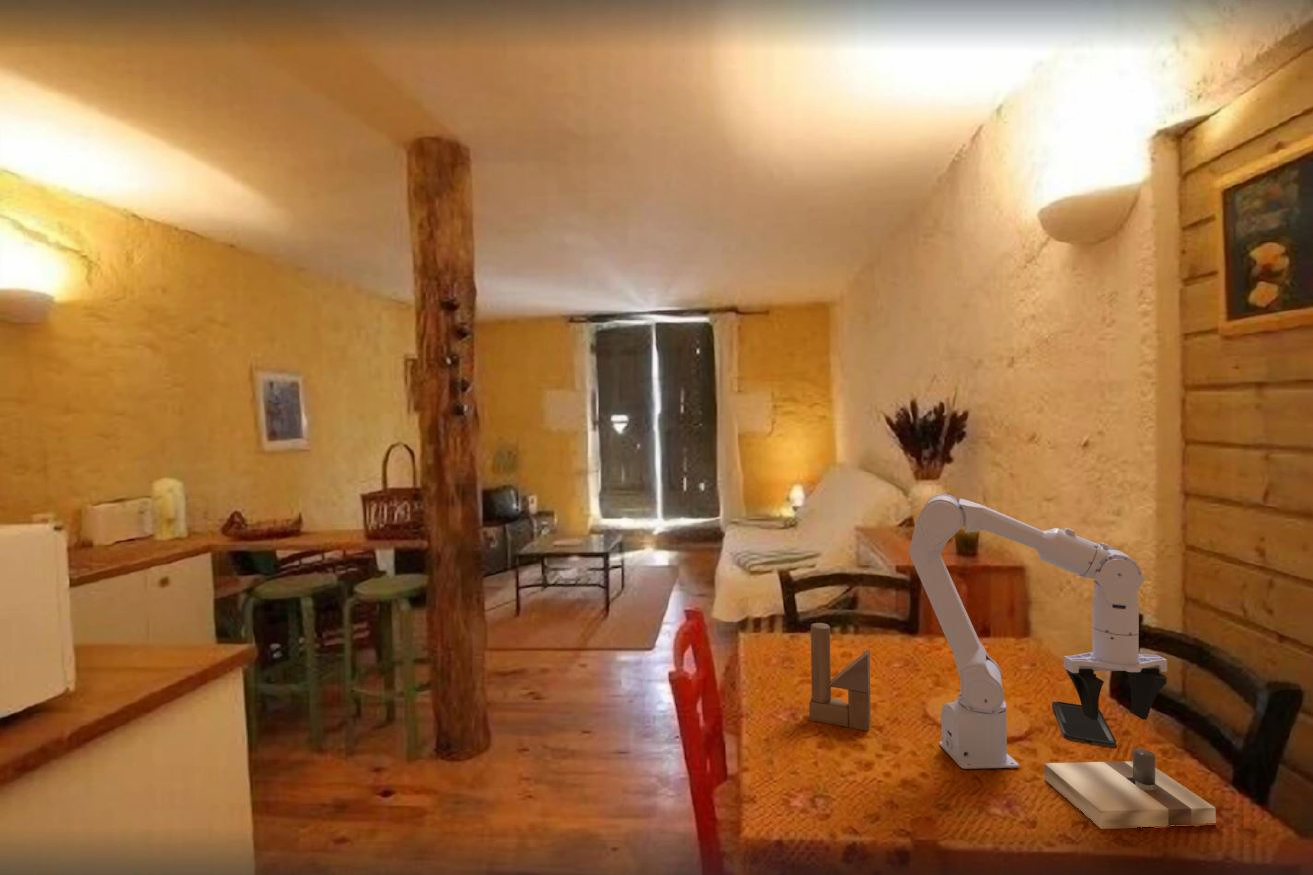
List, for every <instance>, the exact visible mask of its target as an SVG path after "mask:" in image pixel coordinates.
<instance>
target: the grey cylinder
mask: <svg viewBox="0 0 1313 875" xmlns="http://www.w3.org/2000/svg"><path fill="white" fill-rule="evenodd" d="M1132 761H1133V779H1134V780H1135V785H1136V786H1137V787H1139V788H1140V789H1141V790H1153V785H1155V768H1156V755H1155V753H1153V752H1151V751H1149V750H1147V749H1142V748H1133V749H1132Z"/></svg>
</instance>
